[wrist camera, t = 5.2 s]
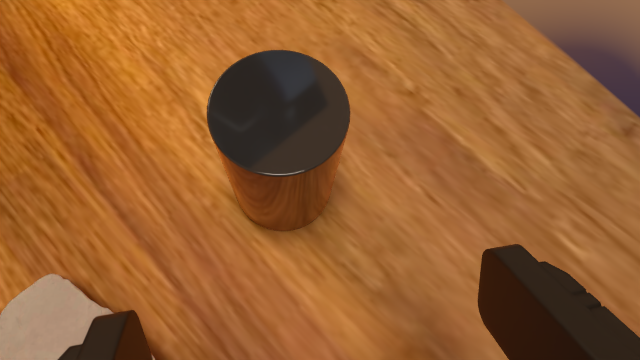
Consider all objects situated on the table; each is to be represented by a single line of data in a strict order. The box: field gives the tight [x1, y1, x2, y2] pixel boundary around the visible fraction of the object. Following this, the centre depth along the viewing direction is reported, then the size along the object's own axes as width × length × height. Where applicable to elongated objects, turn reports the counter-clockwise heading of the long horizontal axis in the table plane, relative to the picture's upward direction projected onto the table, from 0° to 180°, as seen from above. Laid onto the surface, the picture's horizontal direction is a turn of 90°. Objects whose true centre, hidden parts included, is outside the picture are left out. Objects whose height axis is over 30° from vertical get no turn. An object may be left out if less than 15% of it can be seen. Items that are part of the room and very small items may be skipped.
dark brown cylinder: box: [207, 50, 350, 231], centre depth 19 cm, size 5×5×8 cm
